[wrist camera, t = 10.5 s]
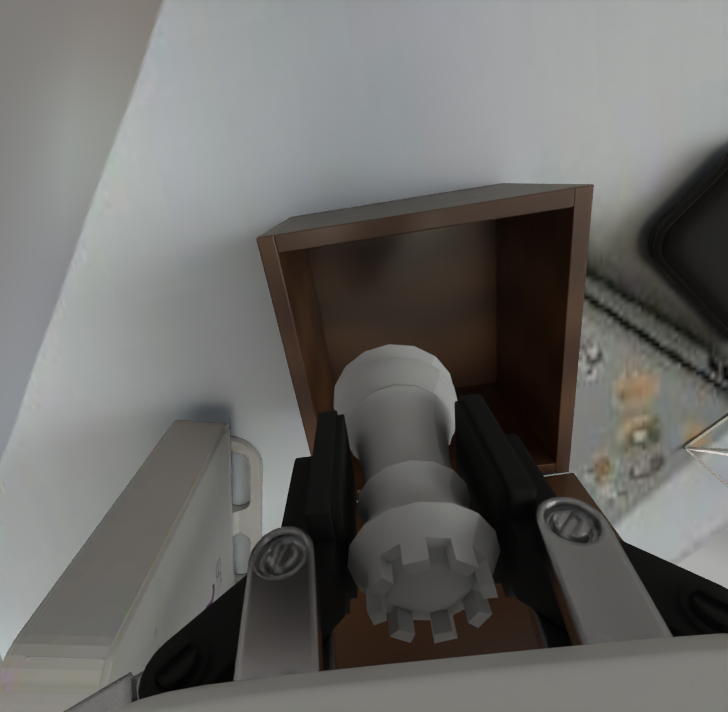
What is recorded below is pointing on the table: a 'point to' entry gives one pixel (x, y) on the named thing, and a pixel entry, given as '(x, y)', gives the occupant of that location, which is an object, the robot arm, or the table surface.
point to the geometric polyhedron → (707, 450)
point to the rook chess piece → (413, 497)
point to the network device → (138, 572)
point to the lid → (496, 635)
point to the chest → (443, 300)
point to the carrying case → (698, 245)
